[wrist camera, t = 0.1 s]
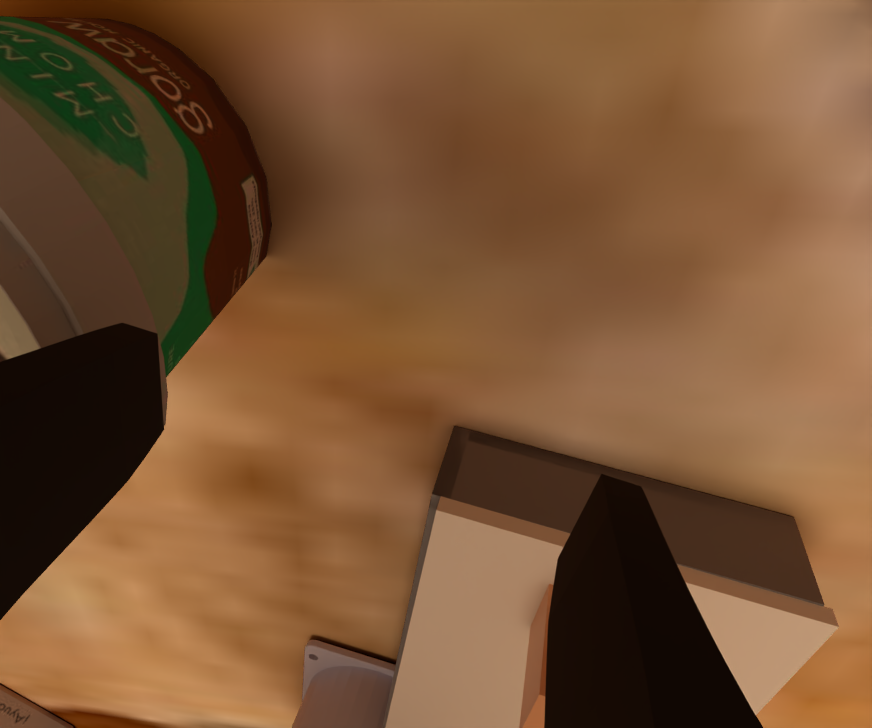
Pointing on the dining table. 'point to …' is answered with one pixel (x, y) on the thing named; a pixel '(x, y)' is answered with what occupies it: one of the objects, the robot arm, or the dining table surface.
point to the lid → (528, 626)
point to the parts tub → (672, 505)
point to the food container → (119, 188)
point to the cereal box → (25, 713)
